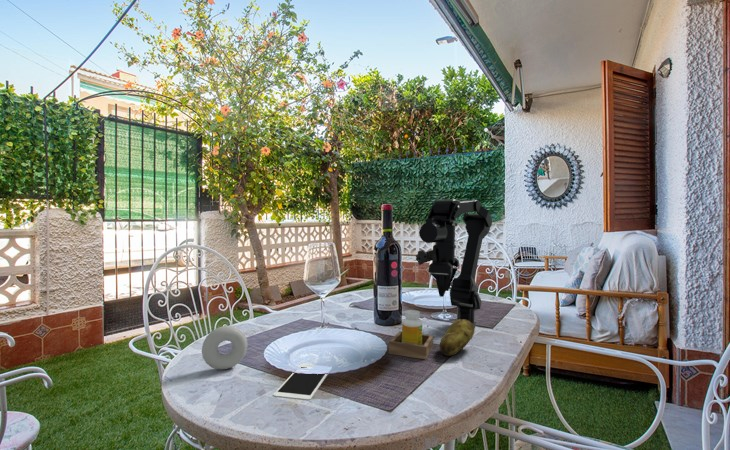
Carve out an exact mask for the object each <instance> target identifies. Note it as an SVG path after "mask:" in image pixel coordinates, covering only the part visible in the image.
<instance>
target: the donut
mask: <svg viewBox="0 0 730 450" xmlns="http://www.w3.org/2000/svg"><path fill="white" fill-rule="evenodd" d="M223 342H229V343H231V345H232V348H231V349H230V351H229V352H226V353H220V352H219V351H218V350H219V349H218V348H219V345H220V344H222V343H223ZM248 345H249V344H248V338H247V336H246V334H245V333H244V331H242V330H241V329H240V328H238V327H235V326H232V325H223V326H220V327H217V328H215V329H213V330H211V331H210V332H209V334H208V335H206V337H205V339H204V340H203V342H202V346H201V347H202V348H201V355H202V359H203V361H204V362H205V364H206V365H208V366H209V367H210V368H212V369H216V370H228V369H230V368H233V367H235V366H236V365H238V364H239V363H240V362H241V361H242V360H243V358H244V357H245V355H246V353H247V351H248Z"/></svg>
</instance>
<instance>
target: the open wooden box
mask: <svg viewBox="0 0 730 450" xmlns="http://www.w3.org/2000/svg"><path fill="white" fill-rule="evenodd" d="M433 349H434V335H430V334H423V333H422V345H416V344H409V343H402V330H401V331H400V330H399V331H398V332H397V333H396V334H395V335H394V336H393V337H392V338H391V340H389V341H388V354H389V355H395V356H401V357H408V358H413V359H419V360H420V359H422V360H427V359H428V358H429V355H430V354H431V351H432V350H433ZM426 358H427V359H426Z"/></svg>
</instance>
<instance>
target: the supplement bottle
mask: <svg viewBox="0 0 730 450" xmlns="http://www.w3.org/2000/svg"><path fill="white" fill-rule="evenodd" d="M420 312H421V311H419V310H416V309H415V310H414V309H408V310H405V311H404V317H405V318H404V319H402V323H401V328H402V329H401V332H402V343H409V344H416V345H422V334H423V320H421V319H420V318H421V313H420Z"/></svg>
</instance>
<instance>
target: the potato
mask: <svg viewBox="0 0 730 450" xmlns="http://www.w3.org/2000/svg"><path fill="white" fill-rule="evenodd" d="M475 329H476V326H475V327H474V324H473V323H471V322H470V321H468V320H465V319H458V320H457V319H455V320H454V321H452V323H451V325H450V326H449V327H448V328H447V330H446V331H445V333H444V334H443V336H442V337H441V340H440V342H439V349H440V351H441V354H443V355H444V356H446V357H449V356H450V357H452V356H454V355H456V354H457V353H458V352H459V351H461V350H463V349H464V348H465V347H466V346H467V345H468V343H470V341H471V340H472V339H473V337H474V334H475Z"/></svg>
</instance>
